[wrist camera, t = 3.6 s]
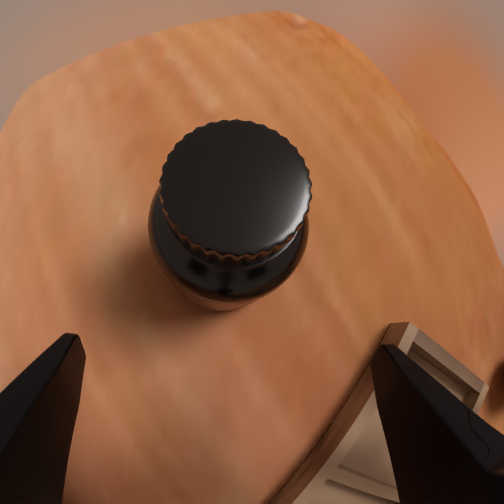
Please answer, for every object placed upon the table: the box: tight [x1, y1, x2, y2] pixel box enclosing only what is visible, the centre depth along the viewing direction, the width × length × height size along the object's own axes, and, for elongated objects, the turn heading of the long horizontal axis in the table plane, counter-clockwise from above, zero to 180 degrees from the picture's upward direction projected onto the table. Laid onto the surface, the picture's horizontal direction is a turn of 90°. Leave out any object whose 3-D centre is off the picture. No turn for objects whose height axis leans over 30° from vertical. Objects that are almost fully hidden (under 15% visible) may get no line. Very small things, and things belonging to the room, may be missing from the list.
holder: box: [269, 322, 489, 504], centre depth 17 cm, size 23×12×2 cm, turn 145°
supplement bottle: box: [148, 119, 312, 311], centre depth 15 cm, size 7×7×12 cm
